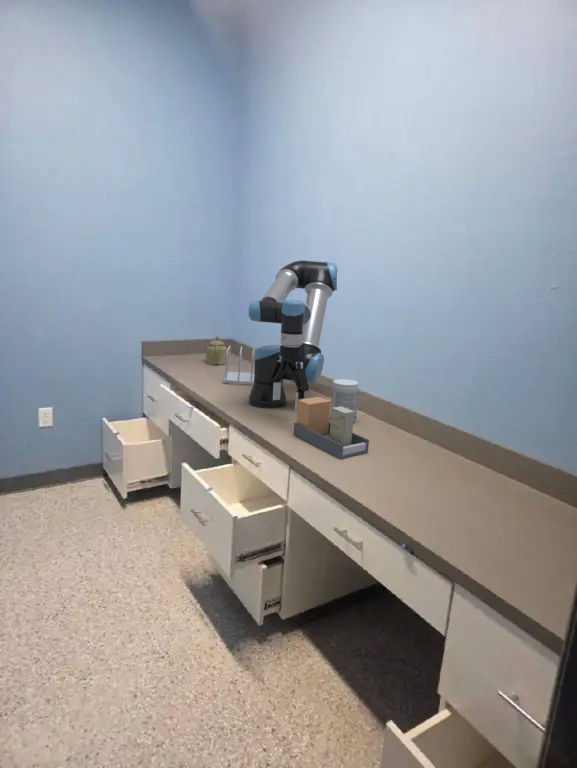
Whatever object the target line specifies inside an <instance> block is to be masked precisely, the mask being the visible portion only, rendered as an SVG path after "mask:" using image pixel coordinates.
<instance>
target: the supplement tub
mask: <svg viewBox="0 0 577 768" xmlns="http://www.w3.org/2000/svg"><path fill="white" fill-rule="evenodd" d="M331 390H332V391H331V400H330V401H331V406H330V419H331V415H332V408H333V407H340V406H342V407H345V408H348V409H350V410H352V411H355V414H354V422H356V421H357V412H358V398H359V382H358V381H357V380H352V379H345V378H341V379H340V378H339V379H334V380H333V381H332V387H331ZM354 422H353V423H354Z"/></svg>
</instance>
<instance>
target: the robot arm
mask: <svg viewBox="0 0 577 768" xmlns="http://www.w3.org/2000/svg"><path fill="white" fill-rule="evenodd" d="M335 264H336V263H335V262H329V261H313V260H312V261H311V260H297V261H292V262H291V263H288V264H287V265H285V266H283V267H282V268H281V269H280V270H279V271H278V272H277V273H276V275H275V279H274V282H273V283H272V284H271V286H270V287H269V289H267V292H266V293H264V296H263V297H262V298H261V299H260V300H258V299H257V300H251V302H250V303H249V306H248V318H249V319H250V321H253V322H259V323H269V324H270V323H272V324H280V326H281V327H280V340H279V341H280V344H281V345H280V344H270V345H262V346H260V347H257V348H255V358H254V384H253V385H252V388H251V390H250V393H249V396H248V404H250V405H252V406H254V407H258V408H265V409H273V408H274V409H275V408H281V407H285V406H286V404H287V396H286V392H285V389H284V380H285V381H293V382H294V384H295V386H296V389H297V390H296V392H295V401H294V403H295V405H294V410H295V411H297V406H298V400H300V399H305V392H309V391H310V389H309V388H310V386H309V383H316V382H317V381H318V380H319V379H320V377H321V375H322V372H323V368H324V363H325V356H324V354H323V353H322V349H321V348H320V347H319V345H320V340H321V334H322V330H323V325H324V319H325V314H326V308H327V303H328V300H329V298H331V297H332V296H333V293H334V291H335V290H337V291H338V289H337V272H338V266H337V264H336V265H335ZM336 266H337V267H336ZM296 289H302V290H303V289H304V291H305V293H306V300H305V302H304V301H303V300H298V299H287V298H288V296H289V294H290V293H291V292H292V291H294V290H296ZM335 292H336V291H335Z"/></svg>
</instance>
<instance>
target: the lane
mask: <svg viewBox="0 0 577 768" xmlns="http://www.w3.org/2000/svg"><path fill="white" fill-rule="evenodd" d="M330 424H331V421H329V431H328V433H324V434H319V433H317V432H315V431H312V430H310V429H308V428H306V427H304V426H302V425H300V424H298V423H296V422H293V433H292V434H293V436H294V437H296V438H298V439H300V440H303V441H304V442H307V443H309V444H310V445H312V446H315V447H316V448H319V449H320V450H322V451H325V452H326V453H328V454H330V455H332V456H334V457H336V458H338V459H340V460H343V459H348V458H351V457H355V456H356V457H357V456H359V455H365V454H368V453H369V444H370V439H368V438H366V437H365V436H364V437H363V436H362V435H359V434H357V433H355V432H353V431H352V439H351V445H349V446H345V447H343V446H344V445H342V444H340V443H338V442H336V441H334V440H331V439H329V433H330Z"/></svg>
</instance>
